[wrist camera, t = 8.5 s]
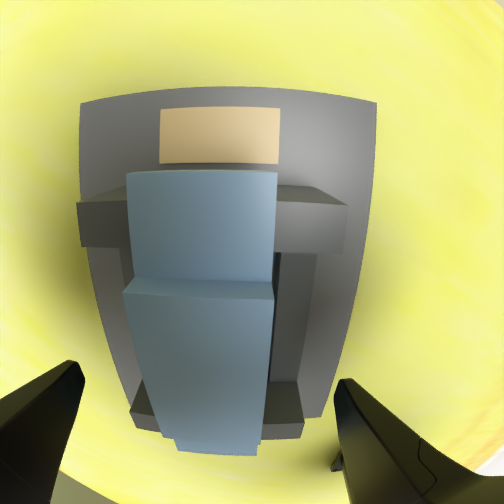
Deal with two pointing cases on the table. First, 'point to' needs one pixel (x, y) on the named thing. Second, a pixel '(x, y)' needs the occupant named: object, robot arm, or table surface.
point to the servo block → (203, 302)
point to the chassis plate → (286, 219)
